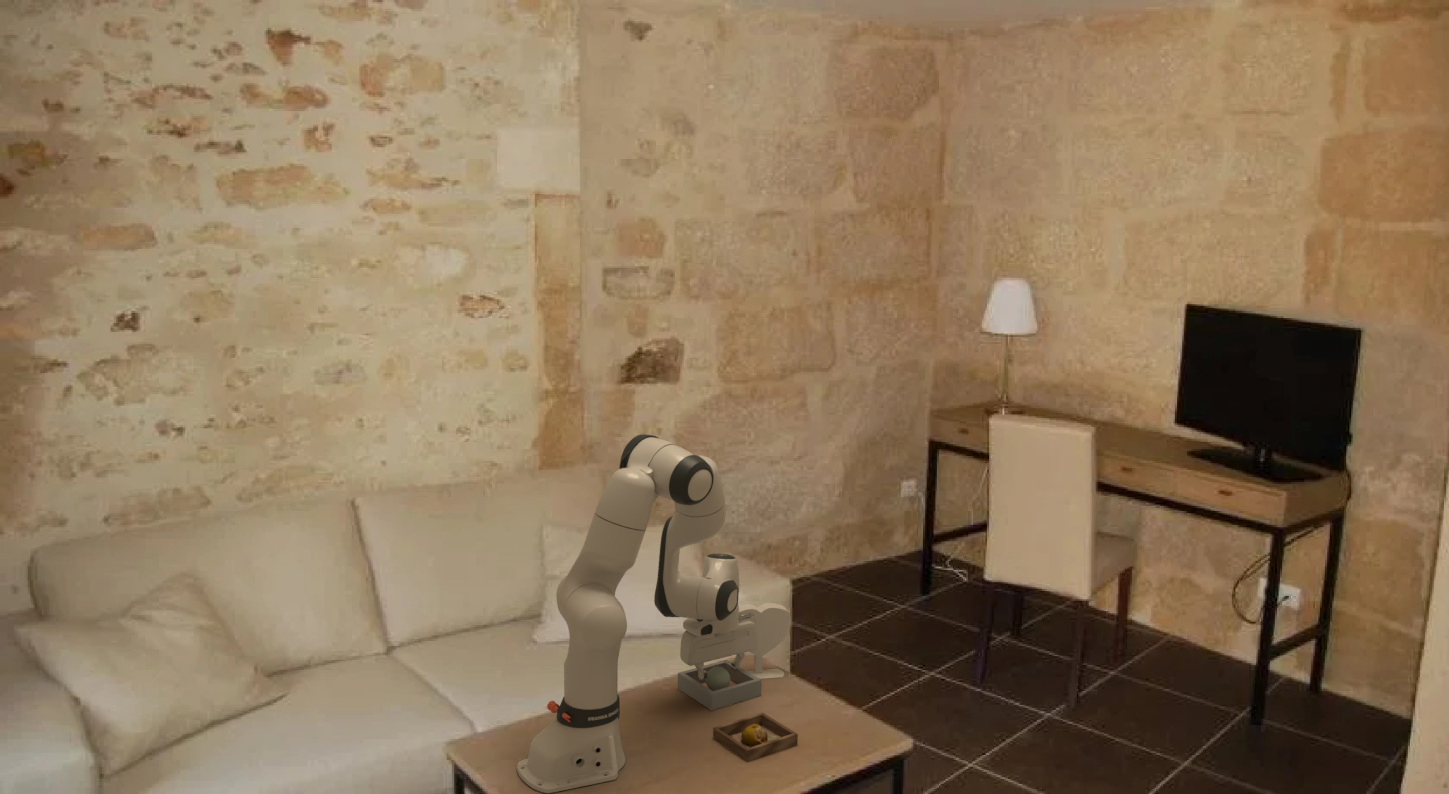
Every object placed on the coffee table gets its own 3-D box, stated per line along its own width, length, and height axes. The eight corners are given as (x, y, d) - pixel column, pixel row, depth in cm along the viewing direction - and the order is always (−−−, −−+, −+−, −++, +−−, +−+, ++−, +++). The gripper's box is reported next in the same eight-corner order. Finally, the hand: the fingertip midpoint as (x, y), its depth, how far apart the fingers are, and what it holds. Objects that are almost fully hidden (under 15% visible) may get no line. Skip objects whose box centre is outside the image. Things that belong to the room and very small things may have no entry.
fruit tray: (747, 761, 237) (747, 750, 236) (713, 738, 247) (713, 728, 246) (797, 744, 244) (797, 734, 244) (762, 722, 255) (762, 712, 254)
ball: (728, 697, 267) (725, 674, 265) (703, 696, 268) (701, 673, 267) (734, 685, 272) (731, 662, 271) (710, 684, 274) (707, 661, 272)
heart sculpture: (785, 668, 285) (787, 600, 282) (790, 676, 280) (792, 607, 277) (725, 672, 281) (726, 604, 278) (729, 681, 277) (730, 611, 274)
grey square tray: (711, 710, 260) (711, 694, 260) (677, 688, 272) (677, 673, 271) (761, 695, 269) (761, 680, 268) (726, 675, 280) (726, 659, 279)
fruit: (773, 754, 240) (773, 738, 240) (736, 749, 243) (736, 733, 242) (782, 737, 248) (783, 722, 248) (746, 732, 251) (746, 716, 250)
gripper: (748, 607, 275) (747, 660, 278) (677, 623, 264) (676, 678, 267) (763, 615, 270) (762, 669, 272) (691, 631, 259) (690, 688, 261)
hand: (719, 674), depth 269 cm, fingers open, 8 cm apart
